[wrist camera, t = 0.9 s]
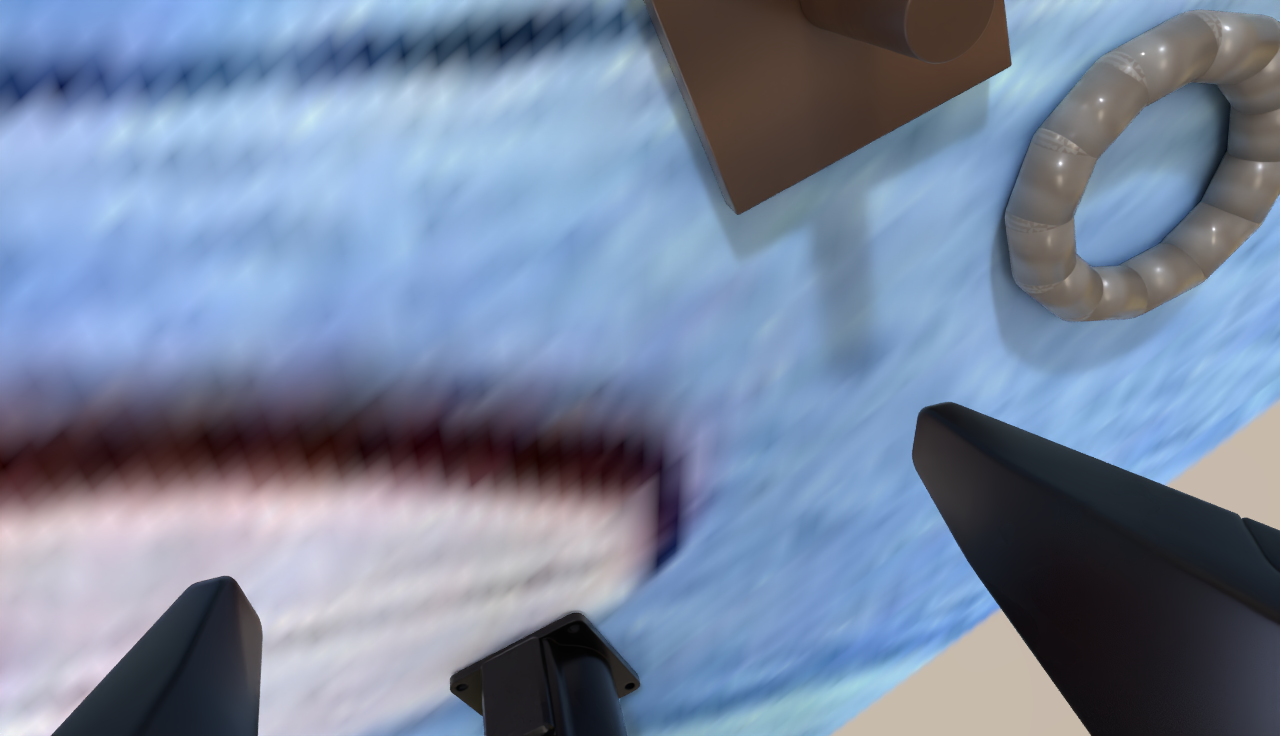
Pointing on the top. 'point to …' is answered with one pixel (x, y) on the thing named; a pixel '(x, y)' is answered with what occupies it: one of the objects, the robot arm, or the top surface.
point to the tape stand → (817, 77)
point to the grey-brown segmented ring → (1093, 119)
